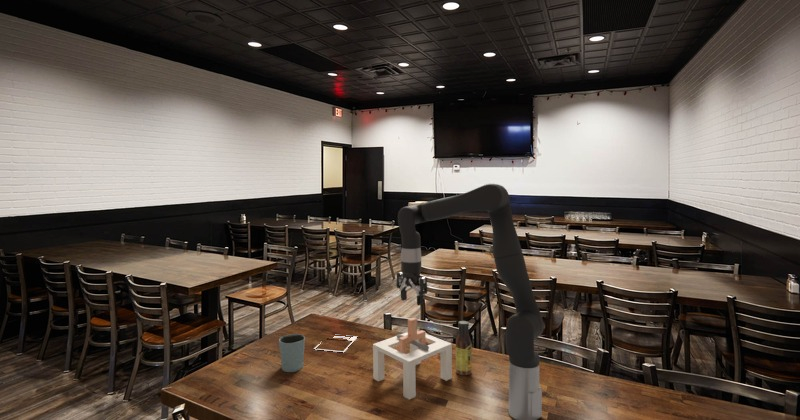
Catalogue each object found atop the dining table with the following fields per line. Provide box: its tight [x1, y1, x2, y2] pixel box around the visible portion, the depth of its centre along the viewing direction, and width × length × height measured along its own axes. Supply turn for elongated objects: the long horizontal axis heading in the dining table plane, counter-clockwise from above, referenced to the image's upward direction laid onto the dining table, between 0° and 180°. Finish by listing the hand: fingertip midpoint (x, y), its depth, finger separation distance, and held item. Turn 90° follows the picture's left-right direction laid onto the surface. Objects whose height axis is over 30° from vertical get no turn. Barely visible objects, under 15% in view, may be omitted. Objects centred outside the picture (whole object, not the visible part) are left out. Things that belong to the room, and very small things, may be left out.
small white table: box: [372, 329, 453, 400], centre depth 152 cm, size 22×20×15 cm
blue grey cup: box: [278, 333, 306, 373], centre depth 162 cm, size 10×10×12 cm
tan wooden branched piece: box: [394, 317, 430, 371], centre depth 151 cm, size 13×5×17 cm, turn 132°
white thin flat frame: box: [313, 335, 358, 354], centre depth 186 cm, size 15×1×18 cm
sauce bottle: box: [455, 320, 473, 376], centre depth 156 cm, size 6×6×20 cm
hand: (411, 302), depth 150 cm, fingers open, 8 cm apart
